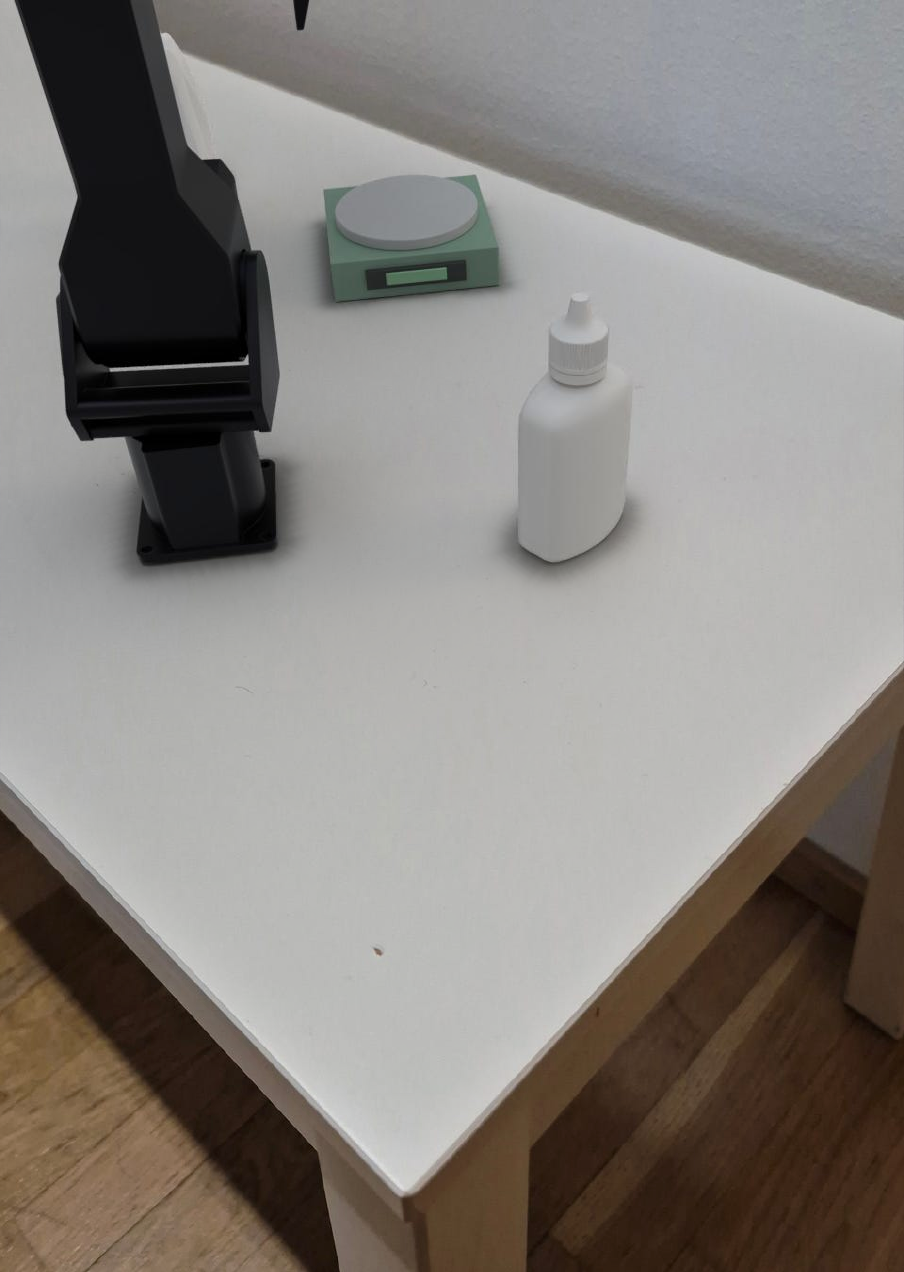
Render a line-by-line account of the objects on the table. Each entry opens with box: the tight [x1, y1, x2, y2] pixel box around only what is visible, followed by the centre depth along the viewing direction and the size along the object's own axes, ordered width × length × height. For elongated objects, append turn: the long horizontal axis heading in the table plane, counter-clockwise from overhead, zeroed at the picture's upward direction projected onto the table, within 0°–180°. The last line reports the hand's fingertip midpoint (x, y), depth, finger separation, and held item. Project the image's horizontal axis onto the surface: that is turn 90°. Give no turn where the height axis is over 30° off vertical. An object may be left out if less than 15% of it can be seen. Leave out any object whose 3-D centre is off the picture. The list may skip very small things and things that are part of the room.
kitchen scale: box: [323, 174, 500, 303], centre depth 72 cm, size 10×10×3 cm
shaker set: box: [160, 30, 217, 160], centre depth 76 cm, size 12×4×11 cm, turn 13°
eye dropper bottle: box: [517, 292, 634, 563], centre depth 50 cm, size 4×6×12 cm
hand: (215, 36), depth 63 cm, fingers open, 9 cm apart
